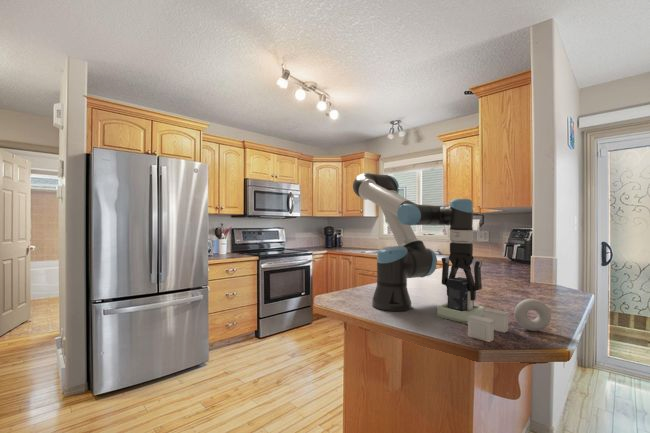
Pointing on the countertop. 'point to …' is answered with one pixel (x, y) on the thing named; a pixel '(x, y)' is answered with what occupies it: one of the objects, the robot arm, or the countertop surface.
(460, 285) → the box
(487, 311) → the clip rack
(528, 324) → the donut
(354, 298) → the countertop surface
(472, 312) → the tray
